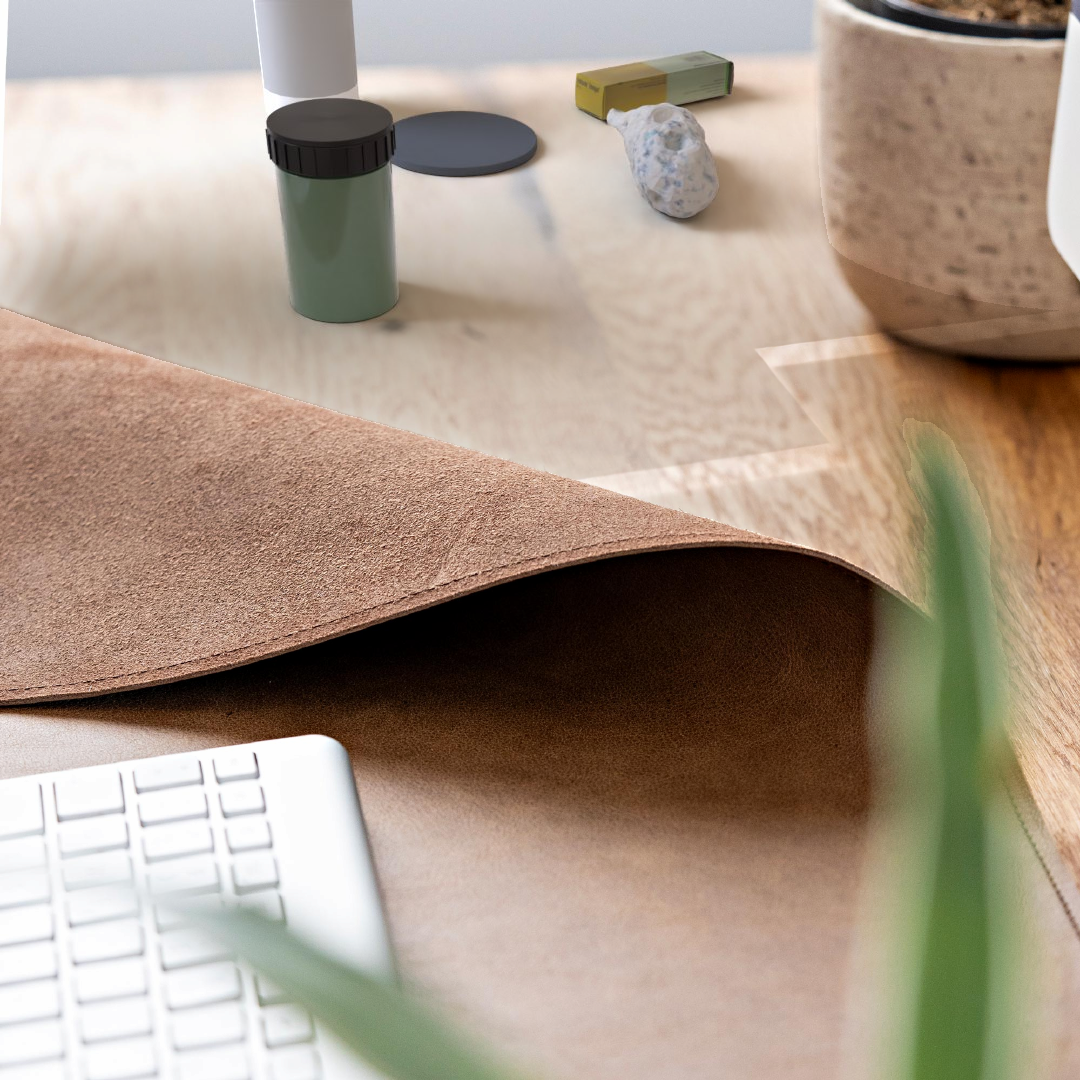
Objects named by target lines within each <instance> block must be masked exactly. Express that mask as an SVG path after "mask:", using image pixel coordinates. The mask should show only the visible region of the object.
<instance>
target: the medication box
mask: <svg viewBox="0 0 1080 1080" xmlns="http://www.w3.org/2000/svg"><path fill="white" fill-rule="evenodd" d="M734 63H735V62H733V61H731V60H729V59H727V58H724V57H722V56H720V55H716V54H714V53H711V52H708V51H706V50H697V51H692V52H687V53H681V54H674V55H670V56H664V57H660V58H659V57H658V58H654V59H648V60H642V61H637V62H631V63H626V64H620V65H614V66H610V67H605V68H598V69H593V70H588V71H583V72H577V73H576V75H575V86H574V103H575V107H576V108H578V109H579V110H581V111H583V112H584V113H587V114H588V115H590V116H592V117H595V118H597V119H599V120H602V121H607V115H608V113H609V111H610V110H611V109H612V108H614V109H616V110H620V111H623V112H628V111H630V110H633V109H637V108H639V107H642V106H646V105H658V104H661V103H669V104H671V105H674V106H679V105H683V104H688V103H693V102H698V101H703V100H707V99H712V98H717V97H722V96H727V95H728V96H731V95H732V91H733V87H734V82H735V81H734V80H735V65H734Z"/></svg>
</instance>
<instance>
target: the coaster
mask: <svg viewBox="0 0 1080 1080" xmlns="http://www.w3.org/2000/svg"><path fill="white" fill-rule="evenodd" d="M393 125H395V140H396V149H394V152H395V155H393V157H392V158H391V162H392V164H393V165H394V166H397V167H400V168H402V169H405V170H409V171H412V172H416V173H420V174H426V175H427V174H428V175H433V176H443V177H445V176H446V177H447V176H448V177H468V176H469V177H470V176H481V175H490V174H493V173H494V174H495V173H499V172H503V171H507V170H509V169H513V168H515V167H518V166H520V165H522V164H524V163H526V162H528V161H529V160H530V159H532V157H533V156H534V155H535V154H536V152H537V149H538V148H537V147H538V136H537V134H536V132H535V131H534V130H533V129H532V128H531V127H530V126H529V125H527V124H525V123H524V122H521V121H520V120H517V119H514V118H512V117H509V116H505V115H501V114H496V113H492V112H484V111H474V110H446V111H445V110H444V111H432V112H426V113H421V114H416V115H413V116H409V117H405V118H402V119H399V120H397V121H395V122H393Z"/></svg>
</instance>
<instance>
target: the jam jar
mask: <svg viewBox="0 0 1080 1080" xmlns="http://www.w3.org/2000/svg"><path fill="white" fill-rule="evenodd" d="M392 164H393V163H392V162H391V159H390V160H389V161H388V162H387V163H386V164H384V165H382V166H380V167H379V168H376V169H373V170H370V171H367V172H364V173H359V174H354V175H347V176H336V177H317V176H308V175H301V174H297V173H293V172H289V171H286V170H284V169H282V168H280V167H278V166H277V165H275V164H274V169H275V170H274V171H275V178H276V179H275V181H276V189H277V196H278V205H279V214H280V222H281V232H282V240H283V249H284V257H285V267H286V275H287V283H288V284H287V285H288V292H289V300H290V305H291V307H292V308H293V309H294V310H295V311H296V312H298V313H299V314H300V315H302V316H304V317H306V318H309V319H312V320H315V321H319V322H320V321H321V322H324V323H325V322H326V323H353V322H355V323H356V322H360V321H365V320H369V319H373V318H376V317H379V316H381V315H383V314H386V313H387V312H388V311H390V310H391V309H392V308H394V307H395V305H397V303H398V301H399V298H400V290H399V289H400V286H399V285H400V284H399V270H398V268H399V267H398V251H397V235H396V234H397V233H396V219H395V218H396V217H395V216H396V215H395V200H394V199H395V198H394V182H393V180H394V179H393V165H392Z"/></svg>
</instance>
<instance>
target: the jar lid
mask: <svg viewBox="0 0 1080 1080" xmlns="http://www.w3.org/2000/svg"><path fill="white" fill-rule="evenodd" d="M393 123H394V117H393V114H392V112H390V110H388V108H386V107H384V106H382V105H380V104H377V103H375V102H371V101H368V100H362V99H359V100H357V99H347V98H321V99H312V100H305V101H300V102H296V103H292V104H289V105H286V106H283V107H281V108H279V109H277V110H275V111H274V112H272V113H271V114H270V115H267V118H266V120H265V125H266V128H265V129H264V131H265V138H266V139H265V140H266V146H267V154H268V156H269V157H268V158H269V161H271V162H272V163H273V164H274V166H275V165H277V166H278V167H280V168H282V169H284V170H286V171H289V172H293V173H297V174H301V175H308V176H317V177H336V176H347V175H354V174H359V173H364V172H367V171H370V170H373V169H376V168H379V167H380V166H382V165H384V164H386V163H387V162H388V161H389V160H390V159H391V158H392V157H393V155H395V152H394V149H396V140H395V125H393Z"/></svg>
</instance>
